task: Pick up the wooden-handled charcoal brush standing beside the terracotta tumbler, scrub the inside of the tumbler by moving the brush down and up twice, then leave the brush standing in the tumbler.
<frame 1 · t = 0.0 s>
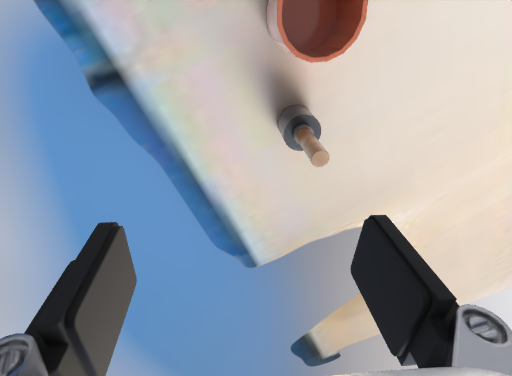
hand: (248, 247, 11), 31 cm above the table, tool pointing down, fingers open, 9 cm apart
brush: (294, 121, 41), on the table
tumbler: (302, 14, 34), on the table
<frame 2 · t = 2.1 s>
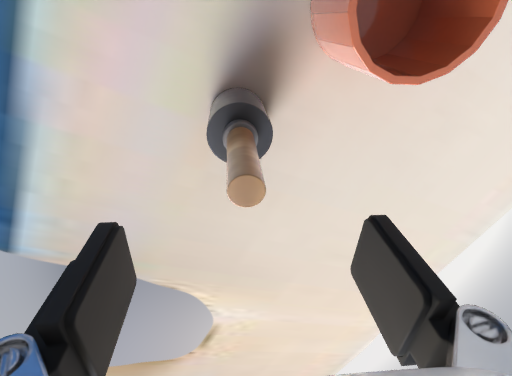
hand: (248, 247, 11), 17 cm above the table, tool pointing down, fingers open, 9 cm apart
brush: (237, 116, 25), on the table
tumbler: (367, 3, 22), on the table
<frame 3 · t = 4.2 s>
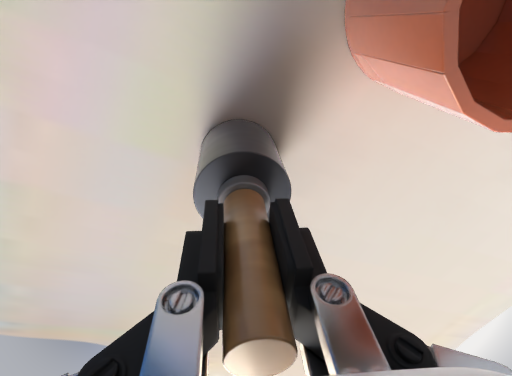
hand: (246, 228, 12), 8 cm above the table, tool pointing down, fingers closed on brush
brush: (238, 156, 18), on the table, touching gripper
tumbler: (426, 1, 15), on the table
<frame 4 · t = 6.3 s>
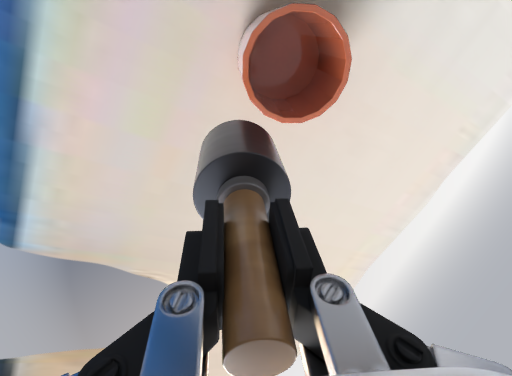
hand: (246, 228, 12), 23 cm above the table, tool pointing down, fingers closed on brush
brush: (238, 156, 18), point 15 cm above the table, touching gripper
tumbler: (280, 59, 30), on the table
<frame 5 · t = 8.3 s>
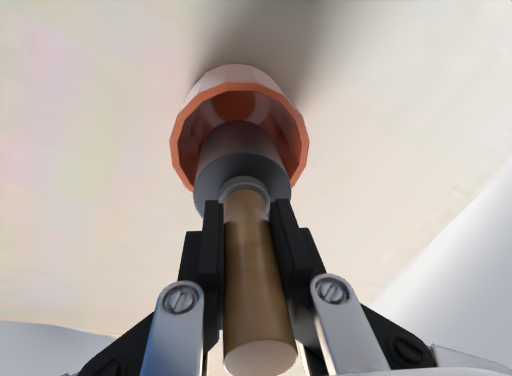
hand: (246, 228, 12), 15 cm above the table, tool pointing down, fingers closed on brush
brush: (238, 156, 18), point 8 cm above the table, touching gripper
tumbler: (236, 117, 25), on the table
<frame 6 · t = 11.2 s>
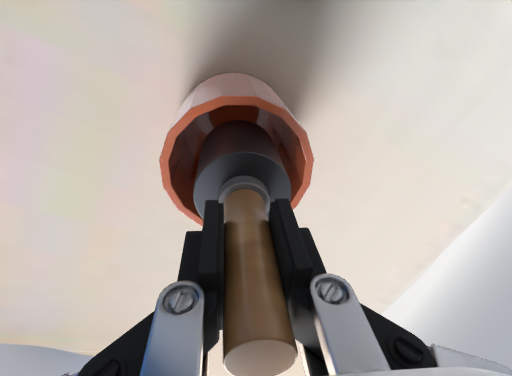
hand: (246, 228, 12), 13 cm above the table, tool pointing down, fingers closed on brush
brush: (238, 156, 18), point 6 cm above the table, touching gripper
tumbler: (234, 129, 23), on the table
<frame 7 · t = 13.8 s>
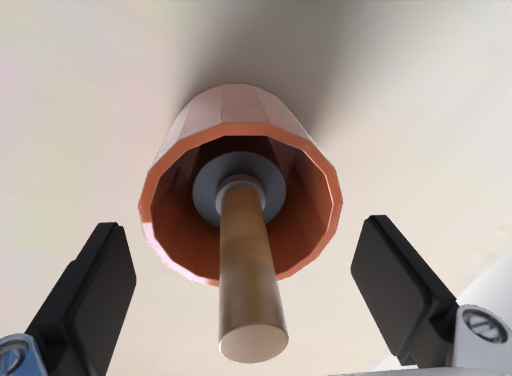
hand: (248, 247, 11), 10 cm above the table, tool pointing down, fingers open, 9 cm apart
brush: (236, 156, 19), point 1 cm above the table, touching tumbler
tumbler: (236, 151, 19), on the table
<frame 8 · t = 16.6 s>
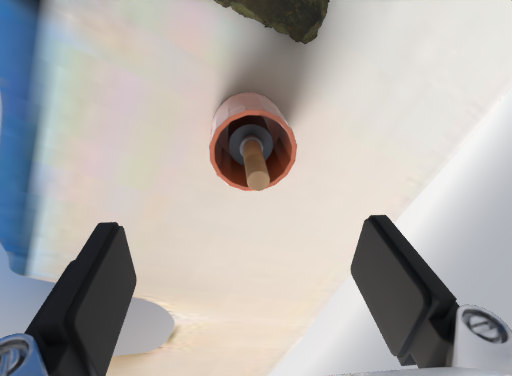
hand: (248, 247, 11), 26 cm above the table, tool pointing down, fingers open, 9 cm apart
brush: (247, 131, 35), point 1 cm above the table, touching tumbler
tumbler: (248, 128, 36), on the table
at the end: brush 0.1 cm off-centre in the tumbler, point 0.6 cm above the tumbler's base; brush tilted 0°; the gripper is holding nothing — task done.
